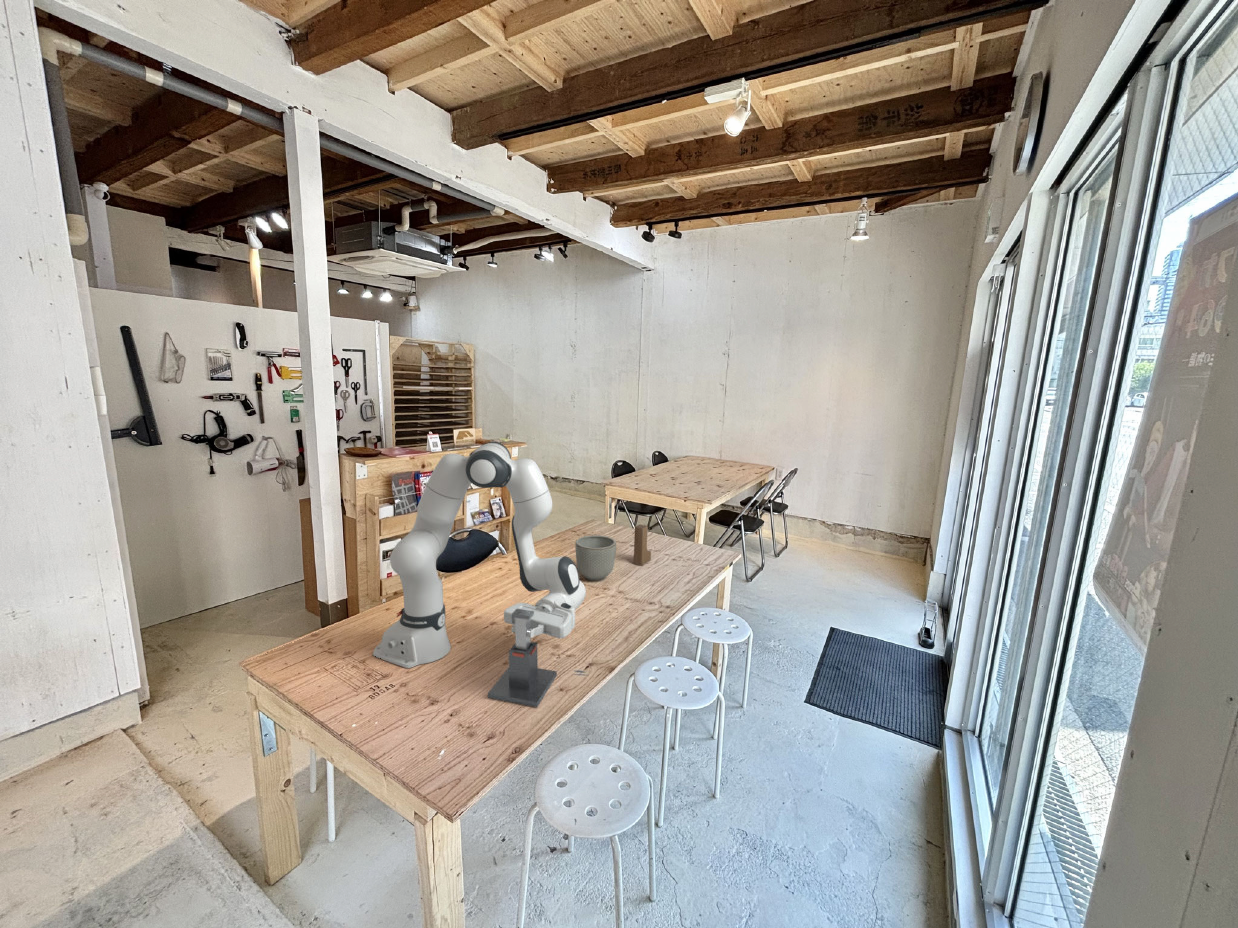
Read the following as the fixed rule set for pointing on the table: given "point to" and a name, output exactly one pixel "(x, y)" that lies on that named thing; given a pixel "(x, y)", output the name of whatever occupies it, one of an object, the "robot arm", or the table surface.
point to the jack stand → (523, 679)
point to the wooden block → (641, 546)
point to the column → (522, 628)
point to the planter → (595, 556)
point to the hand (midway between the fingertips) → (521, 632)
